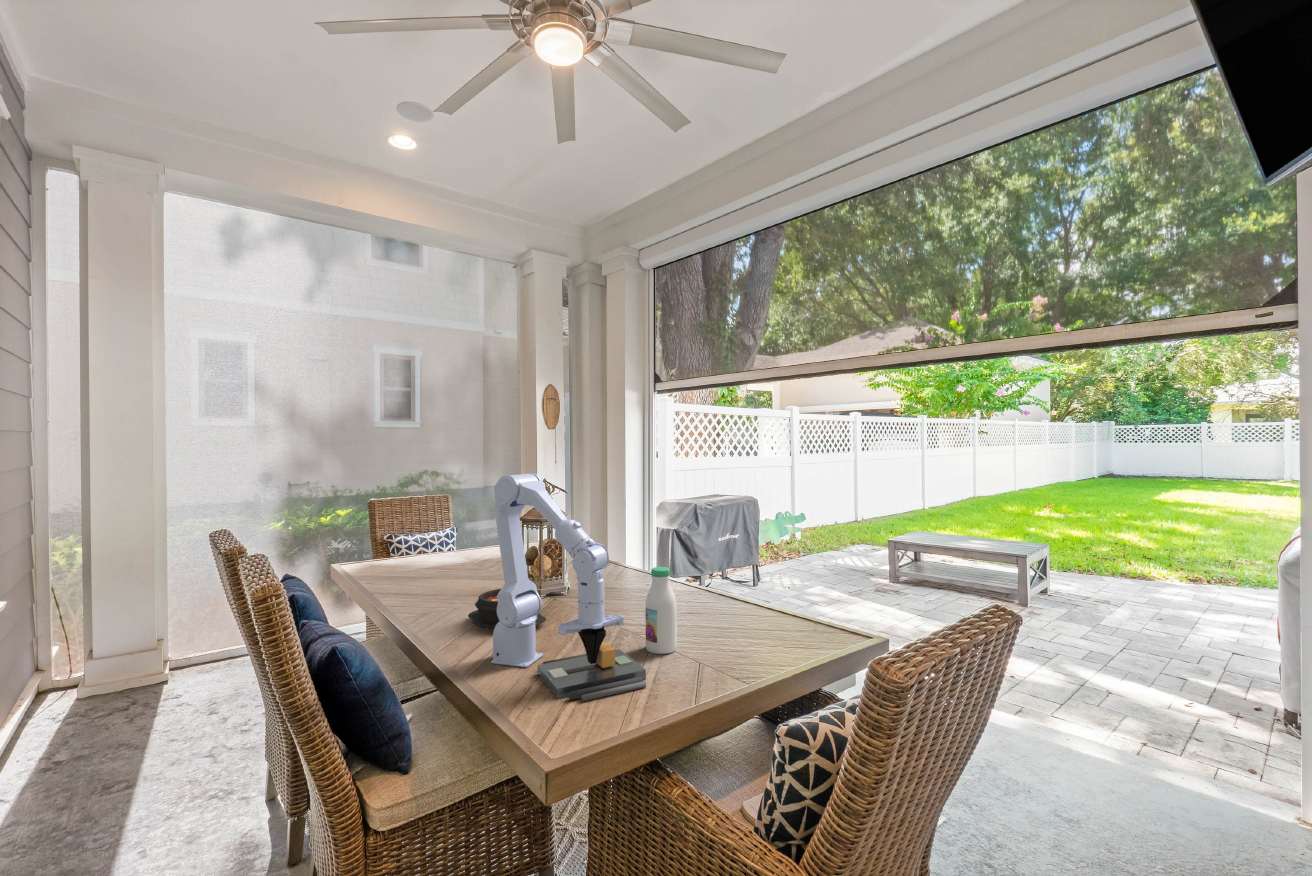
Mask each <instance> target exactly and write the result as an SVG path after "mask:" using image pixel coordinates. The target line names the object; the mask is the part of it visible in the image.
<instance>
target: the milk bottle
mask: <svg viewBox="0 0 1312 876" xmlns="http://www.w3.org/2000/svg"><path fill="white" fill-rule="evenodd" d="M650 573H651V575H650V576H651V580H652V581H651V584H650V588H649V590H648V592H647V596H646V599H645V610H644V611H645V616H644V617H645V648H646V650H647V652H649V653H651V654H655V655H665V654H666V655H667V654H672V653H674V652H675V651H676V650H677V647H678V623H677V622H678V621H677V615H678V614H677V600H676V596H675V593H674V591H673V588H672V585H671V583H670V578H671V576H670V575H671V571H670V568H669V567H667V566H654V567H652V568H651V571H650Z"/></svg>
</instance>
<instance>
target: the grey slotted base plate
mask: <svg viewBox="0 0 1312 876" xmlns="http://www.w3.org/2000/svg"><path fill="white" fill-rule="evenodd" d="M582 656H587V654H586V653H583V654H578V655H572V656H567V657H563V658H562V657H561V658H557V659H552V660H547V661H543V662H542V664H546V663H551V662H556V661H561V660H566V659H572V658H577V657H582ZM646 687H647V683H646V681H645V680H644V679H643V678H642V677H636V678H632V679H627V680H622V681H618V682H613V683H609V684H604V685H600V686H595V687H591V688H586V689H581V690H577V691H572V692H569V693H568V696H567V697H568V700H569V701H570V702H571V701H576V700H579V699H580V701H581V702H582V703H583V702H587V701H591V700H595V699H601V698H604V697H608V696H613V695H618V694H621V693H626V692H630V691H634V690H639V689H644V688H646Z"/></svg>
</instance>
